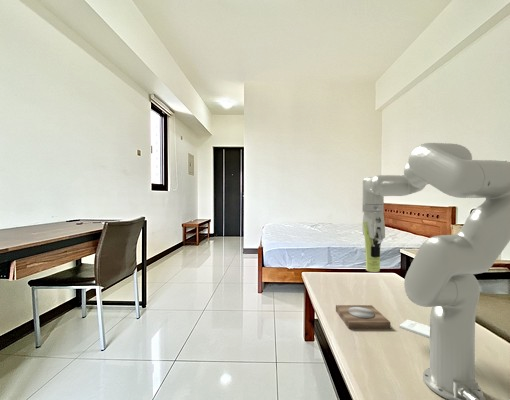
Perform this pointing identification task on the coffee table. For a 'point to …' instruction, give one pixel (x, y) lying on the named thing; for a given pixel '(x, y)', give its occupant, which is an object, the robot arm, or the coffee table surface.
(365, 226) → the tube
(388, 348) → the coffee table surface
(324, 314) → the coffee table surface
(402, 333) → the coffee table surface
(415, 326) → the external hard drive
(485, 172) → the robot arm
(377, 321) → the walnut base
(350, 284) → the coffee table surface
